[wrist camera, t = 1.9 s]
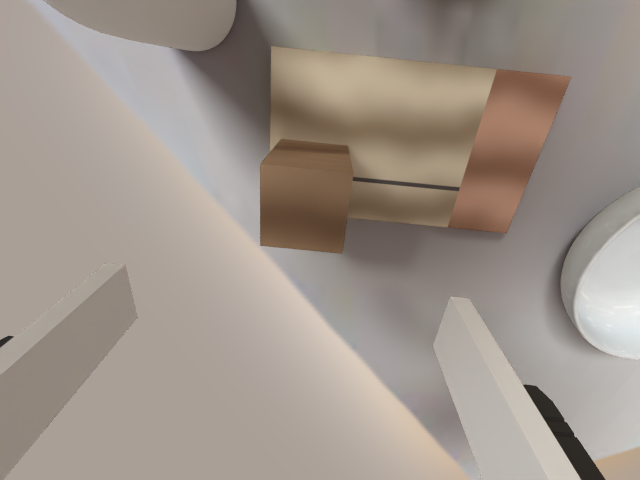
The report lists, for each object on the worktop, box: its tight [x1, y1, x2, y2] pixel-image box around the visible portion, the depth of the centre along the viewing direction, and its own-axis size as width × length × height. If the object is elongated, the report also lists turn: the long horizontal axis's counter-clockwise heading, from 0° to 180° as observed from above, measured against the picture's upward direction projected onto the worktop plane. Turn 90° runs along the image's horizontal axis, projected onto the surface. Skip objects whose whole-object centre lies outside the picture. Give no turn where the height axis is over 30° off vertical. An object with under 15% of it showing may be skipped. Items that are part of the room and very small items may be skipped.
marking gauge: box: [260, 139, 354, 253], centre depth 27 cm, size 8×6×11 cm
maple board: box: [270, 46, 571, 233], centre depth 29 cm, size 14×24×2 cm, turn 85°
